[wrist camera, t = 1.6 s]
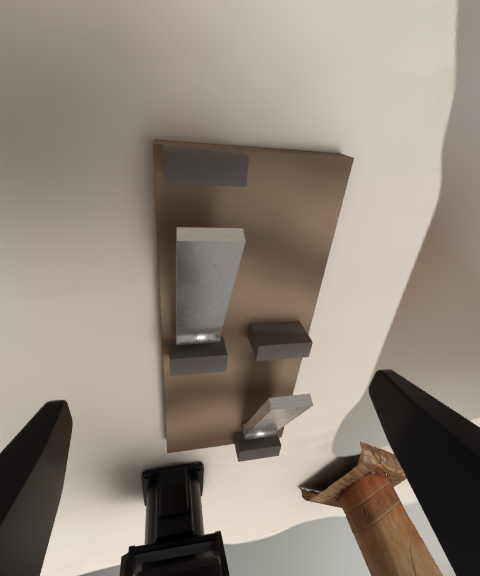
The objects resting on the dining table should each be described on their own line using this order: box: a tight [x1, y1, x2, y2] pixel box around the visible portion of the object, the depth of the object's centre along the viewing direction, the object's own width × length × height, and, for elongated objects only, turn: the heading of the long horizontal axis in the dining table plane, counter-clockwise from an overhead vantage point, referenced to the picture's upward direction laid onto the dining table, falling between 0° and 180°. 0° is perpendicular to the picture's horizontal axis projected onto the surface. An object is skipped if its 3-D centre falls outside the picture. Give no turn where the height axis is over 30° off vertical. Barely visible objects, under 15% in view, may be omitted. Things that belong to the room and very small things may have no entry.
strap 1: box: [242, 394, 313, 440], centre depth 26 cm, size 11×3×1 cm, turn 174°
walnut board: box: [153, 140, 354, 462], centre depth 24 cm, size 27×12×4 cm, turn 175°
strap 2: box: [176, 227, 246, 345], centre depth 18 cm, size 11×3×1 cm, turn 174°
